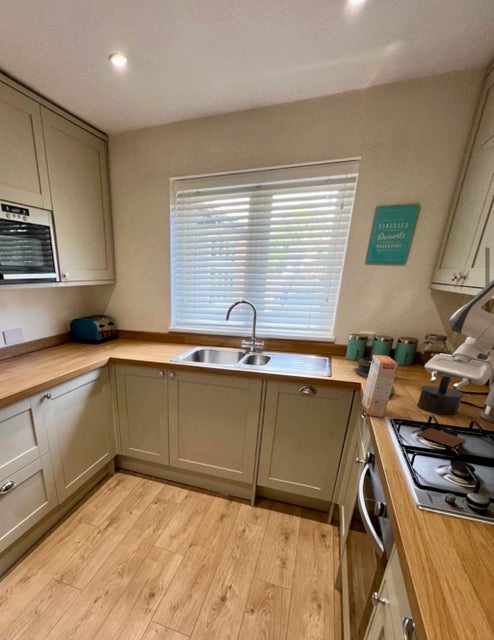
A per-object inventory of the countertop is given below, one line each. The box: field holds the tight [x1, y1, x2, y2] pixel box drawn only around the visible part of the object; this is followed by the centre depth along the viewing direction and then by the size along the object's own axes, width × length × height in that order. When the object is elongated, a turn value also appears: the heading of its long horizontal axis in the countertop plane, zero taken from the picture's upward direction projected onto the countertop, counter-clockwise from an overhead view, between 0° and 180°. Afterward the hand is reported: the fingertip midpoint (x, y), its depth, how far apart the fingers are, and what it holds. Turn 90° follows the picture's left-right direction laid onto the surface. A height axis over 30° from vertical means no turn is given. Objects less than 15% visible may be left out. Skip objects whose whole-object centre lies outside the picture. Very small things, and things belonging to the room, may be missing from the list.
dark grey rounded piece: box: [354, 356, 373, 378], centre depth 177 cm, size 25×19×8 cm
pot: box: [416, 390, 463, 419], centre depth 128 cm, size 12×18×8 cm
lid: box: [420, 376, 465, 399], centre depth 125 cm, size 13×13×7 cm
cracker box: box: [361, 354, 399, 418], centre depth 126 cm, size 14×6×21 cm, turn 161°
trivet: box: [416, 427, 466, 448], centre depth 107 cm, size 10×10×1 cm
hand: (443, 385), depth 125 cm, fingers open, 7 cm apart
